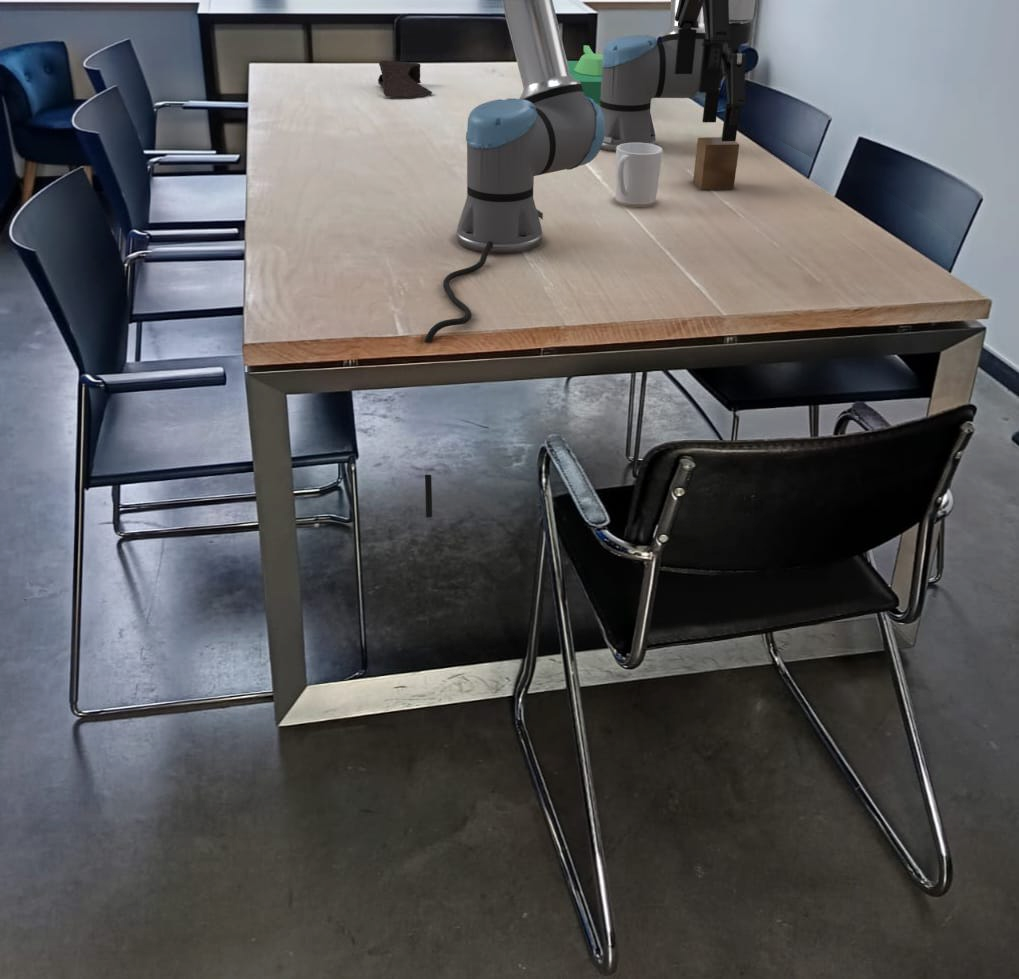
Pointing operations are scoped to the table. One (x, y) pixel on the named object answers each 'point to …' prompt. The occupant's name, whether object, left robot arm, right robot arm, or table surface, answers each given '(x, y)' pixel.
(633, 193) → the mug
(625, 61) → the right robot arm
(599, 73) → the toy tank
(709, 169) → the brick
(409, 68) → the axe head
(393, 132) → the table surface
